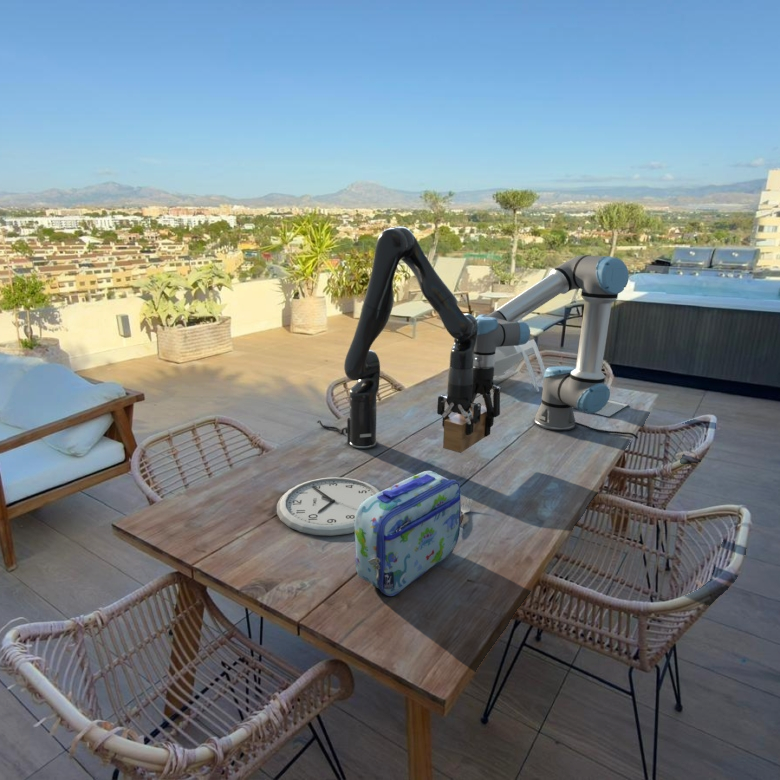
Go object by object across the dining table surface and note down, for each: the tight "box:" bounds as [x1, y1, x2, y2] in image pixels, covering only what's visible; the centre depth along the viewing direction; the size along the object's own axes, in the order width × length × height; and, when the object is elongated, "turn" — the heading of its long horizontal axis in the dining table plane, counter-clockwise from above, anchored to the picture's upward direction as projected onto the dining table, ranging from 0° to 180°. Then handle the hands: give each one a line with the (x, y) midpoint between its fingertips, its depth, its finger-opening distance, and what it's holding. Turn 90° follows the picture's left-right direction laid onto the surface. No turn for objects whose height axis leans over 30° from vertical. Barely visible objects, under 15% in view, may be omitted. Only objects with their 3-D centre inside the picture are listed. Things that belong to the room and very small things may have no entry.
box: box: [442, 404, 488, 454], centre depth 168 cm, size 20×6×9 cm, turn 143°
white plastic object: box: [493, 318, 546, 392], centre depth 256 cm, size 37×45×31 cm
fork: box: [460, 497, 473, 526], centre depth 137 cm, size 3×16×2 cm, turn 160°
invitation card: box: [595, 399, 629, 418], centre depth 226 cm, size 21×1×15 cm
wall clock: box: [276, 476, 382, 537], centre depth 142 cm, size 30×2×30 cm
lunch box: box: [354, 470, 462, 597], centre depth 113 cm, size 26×11×21 cm, turn 134°
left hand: (457, 431), depth 163 cm, fingers open, 7 cm apart
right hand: (477, 432), depth 175 cm, fingers closed on box, 6 cm apart
